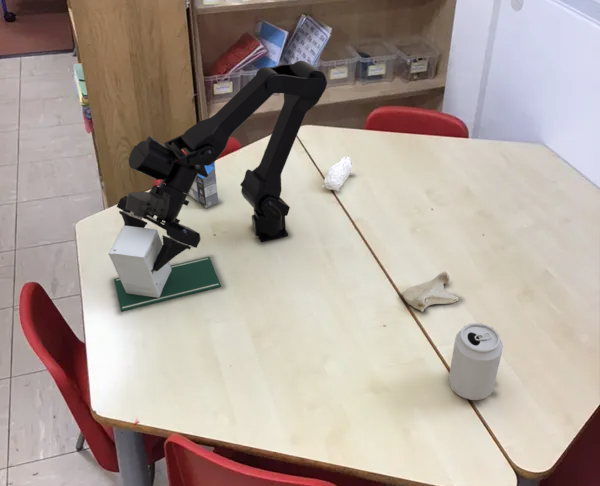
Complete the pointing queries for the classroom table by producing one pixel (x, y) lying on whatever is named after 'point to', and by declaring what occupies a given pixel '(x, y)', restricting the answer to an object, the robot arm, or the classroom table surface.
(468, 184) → the classroom table surface
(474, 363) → the can
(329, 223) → the classroom table surface
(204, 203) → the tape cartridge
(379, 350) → the classroom table surface
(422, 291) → the fossil
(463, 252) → the classroom table surface
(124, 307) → the green mat
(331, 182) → the white crumpled lump
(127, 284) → the white packaging box
